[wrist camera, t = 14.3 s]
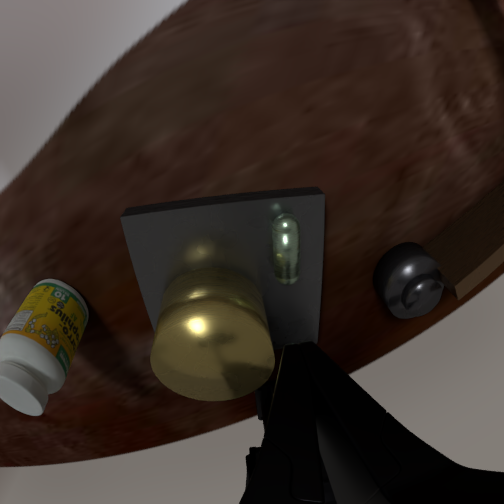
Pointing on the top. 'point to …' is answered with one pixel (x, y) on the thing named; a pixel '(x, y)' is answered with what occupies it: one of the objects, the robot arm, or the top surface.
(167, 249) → the plate
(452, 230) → the brown bar with knob
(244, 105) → the top surface
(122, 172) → the top surface
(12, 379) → the supplement bottle
